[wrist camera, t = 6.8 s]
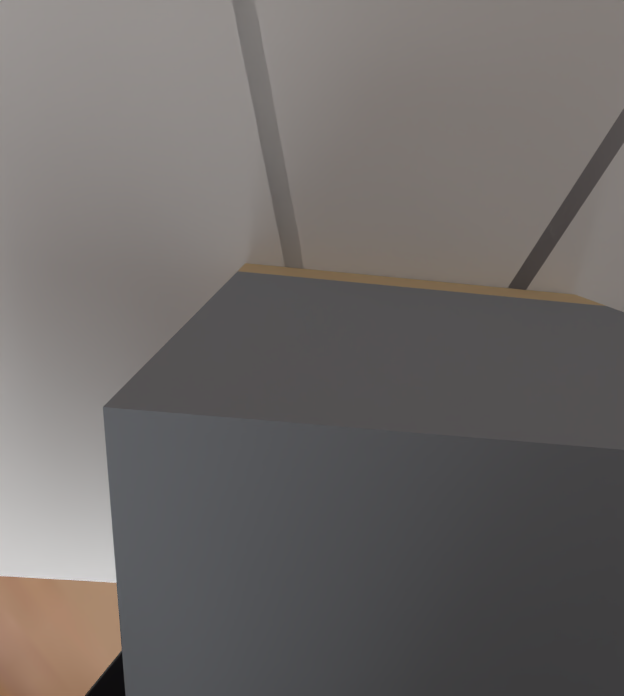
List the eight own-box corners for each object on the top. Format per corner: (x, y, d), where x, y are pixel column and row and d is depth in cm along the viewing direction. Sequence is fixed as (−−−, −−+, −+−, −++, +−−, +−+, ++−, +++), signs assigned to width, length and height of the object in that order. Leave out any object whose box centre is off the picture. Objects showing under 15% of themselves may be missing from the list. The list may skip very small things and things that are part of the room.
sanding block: (460, 665, 10) (594, 1078, 5) (228, 650, 10) (155, 1066, 5) (575, 294, 7) (1111, 489, 2) (245, 262, 7) (102, 407, 2)
